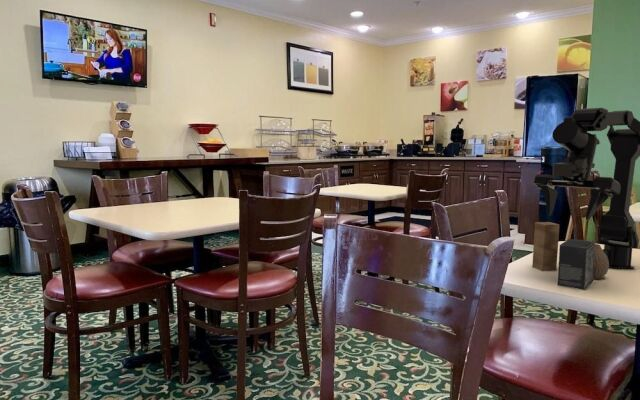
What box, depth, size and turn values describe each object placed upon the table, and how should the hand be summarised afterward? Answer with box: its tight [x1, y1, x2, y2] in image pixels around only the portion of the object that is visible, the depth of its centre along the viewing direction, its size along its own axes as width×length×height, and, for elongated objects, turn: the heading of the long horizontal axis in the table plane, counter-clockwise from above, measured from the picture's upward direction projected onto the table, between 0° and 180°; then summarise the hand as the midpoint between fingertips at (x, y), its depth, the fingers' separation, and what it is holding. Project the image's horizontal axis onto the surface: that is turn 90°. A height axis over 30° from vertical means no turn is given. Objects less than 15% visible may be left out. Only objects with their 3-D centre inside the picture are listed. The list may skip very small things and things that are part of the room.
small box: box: [557, 238, 596, 291], centre depth 117 cm, size 11×6×10 cm, turn 141°
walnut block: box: [531, 221, 560, 272], centre depth 131 cm, size 4×4×13 cm
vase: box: [593, 243, 610, 280], centre depth 123 cm, size 7×7×9 cm
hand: (567, 217), depth 115 cm, fingers open, 9 cm apart
